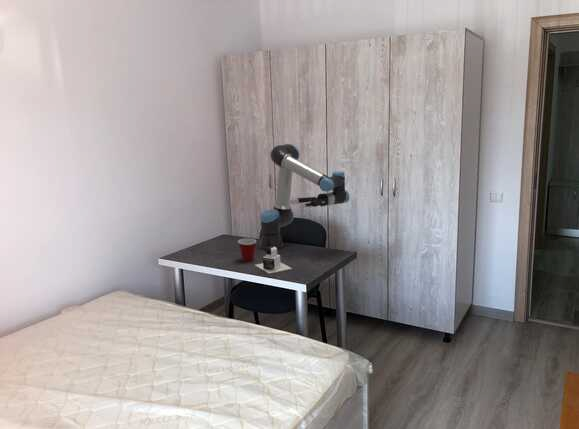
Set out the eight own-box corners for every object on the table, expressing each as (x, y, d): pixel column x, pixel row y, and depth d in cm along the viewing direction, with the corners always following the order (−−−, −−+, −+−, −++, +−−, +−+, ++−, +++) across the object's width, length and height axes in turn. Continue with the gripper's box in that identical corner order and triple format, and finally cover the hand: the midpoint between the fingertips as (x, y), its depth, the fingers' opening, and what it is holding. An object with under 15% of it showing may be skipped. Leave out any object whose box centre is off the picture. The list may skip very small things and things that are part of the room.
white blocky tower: (263, 269, 259) (262, 248, 256) (269, 265, 265) (268, 245, 262) (274, 271, 255) (273, 249, 253) (281, 267, 261) (280, 246, 259)
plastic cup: (248, 264, 271) (247, 243, 268) (235, 261, 278) (233, 241, 275) (261, 259, 279) (260, 239, 276) (248, 256, 286) (247, 237, 283)
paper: (254, 265, 268) (254, 264, 268) (276, 260, 275) (276, 260, 275) (268, 273, 253) (268, 273, 253) (291, 268, 259) (291, 268, 259)
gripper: (337, 208, 273) (305, 213, 263) (314, 202, 294) (284, 207, 285) (337, 195, 271) (305, 200, 262) (314, 190, 293) (284, 194, 283)
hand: (294, 203), depth 273 cm, fingers open, 13 cm apart
